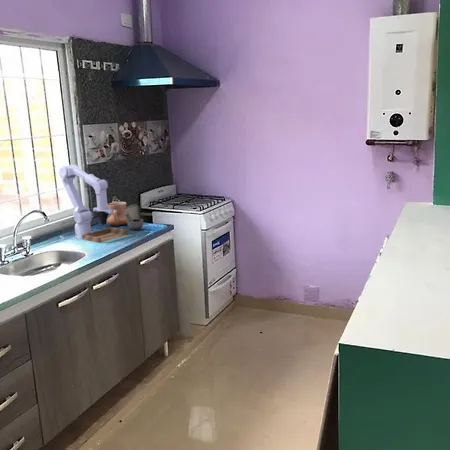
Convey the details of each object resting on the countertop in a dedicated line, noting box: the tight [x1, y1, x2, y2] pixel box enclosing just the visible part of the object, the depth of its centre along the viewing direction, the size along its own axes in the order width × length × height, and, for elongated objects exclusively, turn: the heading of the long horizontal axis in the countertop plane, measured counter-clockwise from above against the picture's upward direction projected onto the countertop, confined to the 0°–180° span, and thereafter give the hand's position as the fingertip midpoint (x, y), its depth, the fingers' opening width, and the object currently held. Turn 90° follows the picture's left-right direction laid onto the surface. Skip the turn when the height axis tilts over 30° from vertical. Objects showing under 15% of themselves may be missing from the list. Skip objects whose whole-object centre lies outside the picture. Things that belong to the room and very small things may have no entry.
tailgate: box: [102, 234, 134, 244], centre depth 303 cm, size 1×18×6 cm
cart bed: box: [81, 227, 129, 244], centre depth 310 cm, size 15×21×4 cm
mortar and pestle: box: [124, 212, 144, 231], centre depth 325 cm, size 11×9×12 cm
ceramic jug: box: [106, 201, 128, 227], centre depth 345 cm, size 18×14×14 cm
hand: (104, 224), depth 307 cm, fingers closed
